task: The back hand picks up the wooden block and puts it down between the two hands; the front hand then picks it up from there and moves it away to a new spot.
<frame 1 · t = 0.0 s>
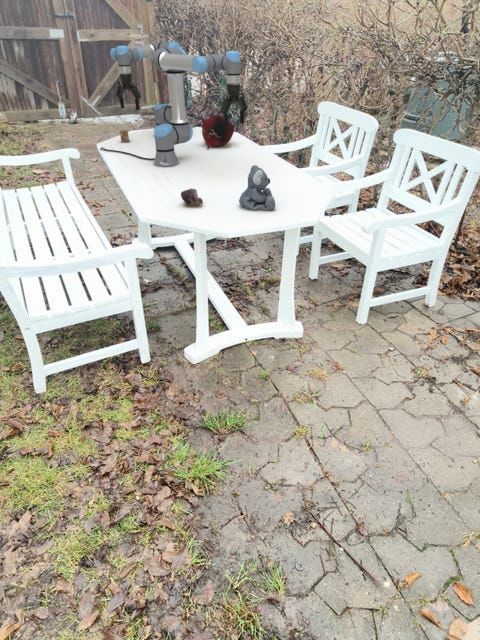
front hand: (234, 125, 259), 28 cm above the table, tool pointing down, fingers open, 13 cm apart
back hand: (130, 109, 305), 28 cm above the table, tool pointing down, fingers open, 13 cm apart
rock: (191, 204, 231), on the table
block: (125, 141, 346), on the table
dark red rounded piece: (217, 145, 334), on the table
koala plush: (256, 206, 229), on the table
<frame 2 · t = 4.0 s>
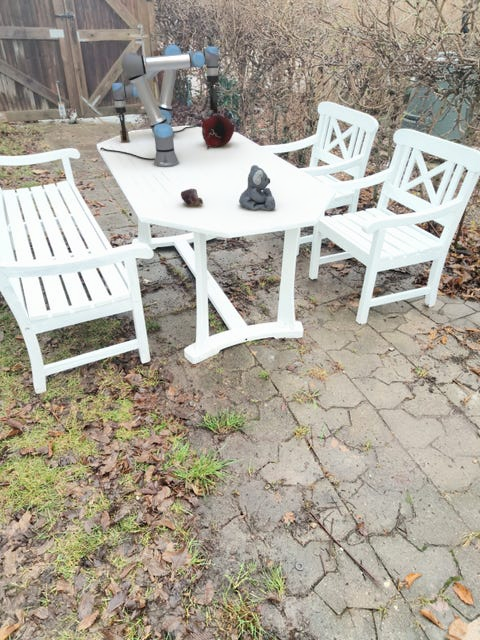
front hand: (213, 111, 295), 28 cm above the table, tool pointing down, fingers open, 13 cm apart
back hand: (125, 139, 345), 1 cm above the table, tool pointing down, fingers closed on block, 5 cm apart
block: (125, 141, 346), on the table, touching back hand
everything else where it was.
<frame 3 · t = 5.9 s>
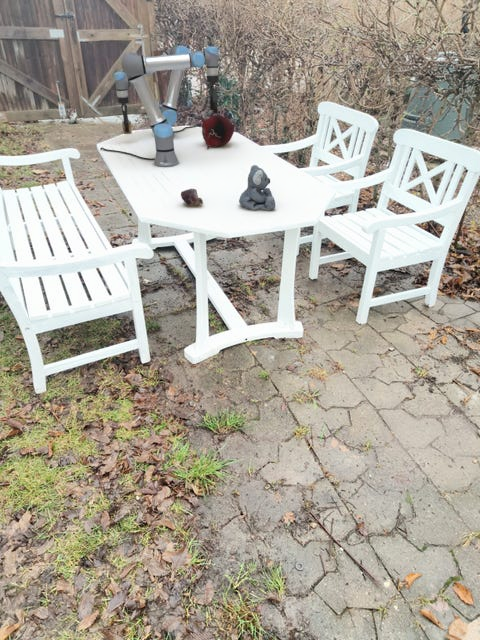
front hand: (213, 111, 295), 28 cm above the table, tool pointing down, fingers open, 13 cm apart
back hand: (127, 131, 335), 9 cm above the table, tool pointing down, fingers closed on block, 5 cm apart
block: (127, 133, 336), point 8 cm above the table, touching back hand
everything else where it was.
when the back hand's fingers open (2 cm above the table, at t = 8.1 s): block drops 1 cm, on the table.
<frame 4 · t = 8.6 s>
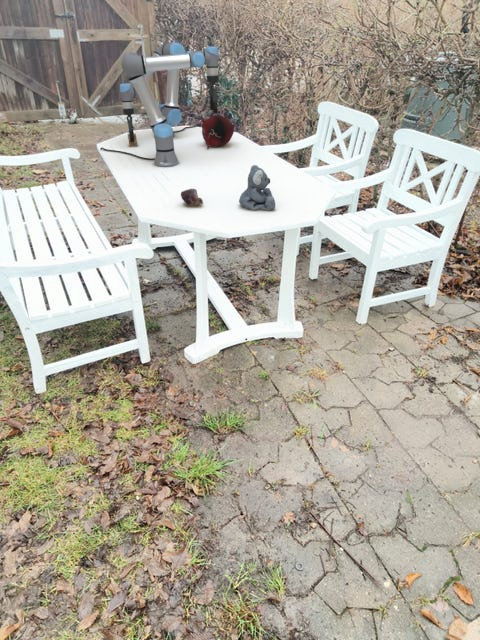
front hand: (213, 111, 295), 28 cm above the table, tool pointing down, fingers open, 13 cm apart
back hand: (132, 140, 333), 4 cm above the table, tool pointing down, fingers open, 12 cm apart
block: (133, 145, 335), on the table
everything else where it was.
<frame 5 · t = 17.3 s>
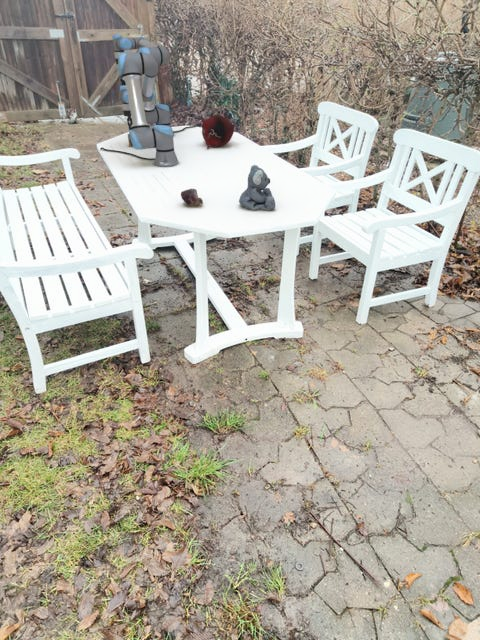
front hand: (132, 143, 334), 1 cm above the table, tool pointing down, fingers closed on block, 5 cm apart
back hand: (124, 88, 359), 32 cm above the table, tool pointing down, fingers open, 13 cm apart
block: (133, 145, 335), on the table, touching front hand
everything else where it was.
when the front hand's fingers open (2 cm above the table, at t = 27.4 s): block drops 1 cm, on the table.
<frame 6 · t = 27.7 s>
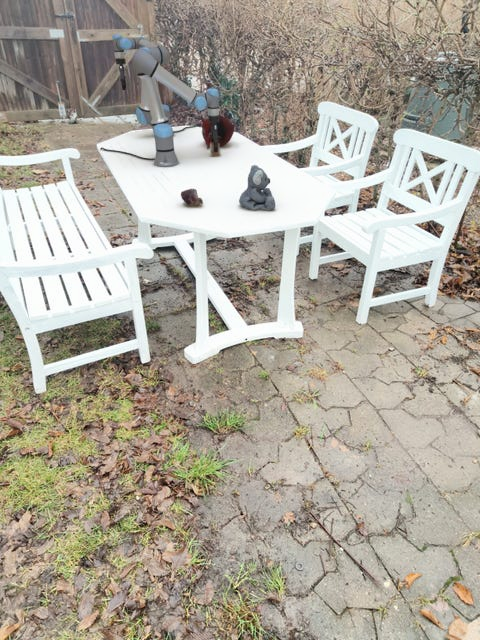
front hand: (215, 150, 309), 3 cm above the table, tool pointing down, fingers open, 9 cm apart
back hand: (124, 88, 359), 32 cm above the table, tool pointing down, fingers open, 13 cm apart
block: (215, 155, 311), on the table
everything else where it was.
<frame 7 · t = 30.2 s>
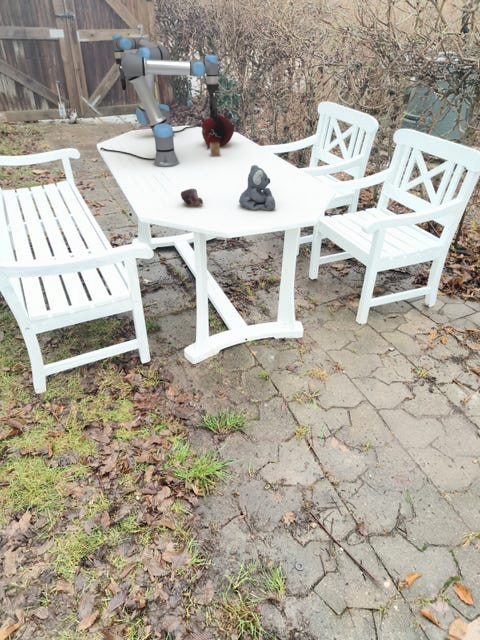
front hand: (213, 119, 298), 23 cm above the table, tool pointing down, fingers open, 13 cm apart
back hand: (124, 88, 359), 32 cm above the table, tool pointing down, fingers open, 13 cm apart
nothing on the table moved.
at the end: block inside the target area (0.0 cm from its centre), on the table; block tilted 0°; the two hands never held the block at the same time; the front hand is holding nothing; the back hand is holding nothing; block at rest at the end (0.0 cm/s) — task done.
